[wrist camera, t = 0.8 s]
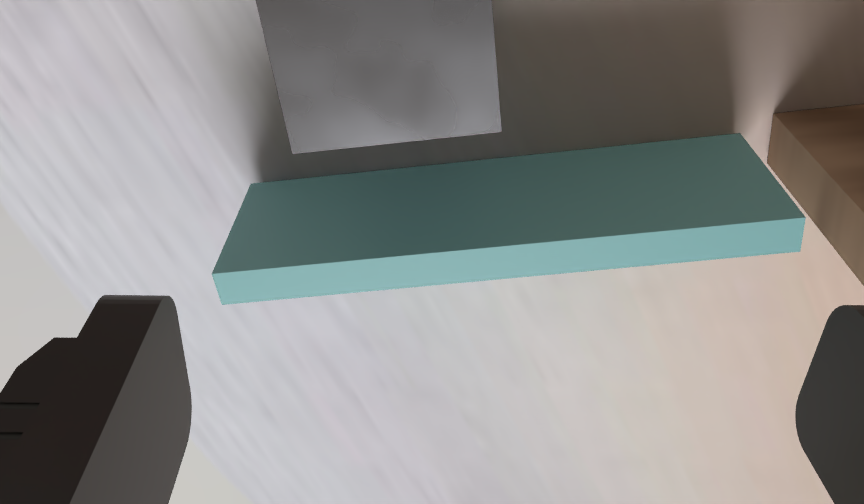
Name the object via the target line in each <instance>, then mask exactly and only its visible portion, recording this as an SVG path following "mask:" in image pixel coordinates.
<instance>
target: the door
mask: <svg viewBox="0 0 864 504" xmlns="http://www.w3.org/2000/svg"><path fill="white" fill-rule="evenodd" d="M805 218H806V217H805V216H804V215H803V213H802V212H801V211H800V210H799V208H798V207H797V206H796V204H795V203H794V202H793V201H792V199H791V198H790V197H789V195H788V194H787V193H786V192H785V190H784V189H783V188H782V186H781V185H780V184H779V183H778V181H777V180H776V179H775V177H774V176H773V175H772V174H771V172H770V171H769V170H768V168H767V167H766V166H765V165H764V163H763V162H762V161H761V159H760V158H759V157H758V156H757V154H756V153H755V152H754V150H753V149H752V148H751V147H750V145H749V144H748V143H747V141H746V140H745V139H744V138H743V136H742V135H741V134H740V133H737V134H727V135H718V136H708V137H698V138H689V139H679V140H669V141H660V142H650V143H640V144H631V145H621V146H611V147H602V148H592V149H582V150H573V151H563V152H553V153H543V154H534V155H524V156H514V157H505V158H495V159H485V160H476V161H466V162H456V163H447V164H437V165H427V166H418V167H408V168H398V169H389V170H379V171H369V172H360V173H350V174H340V175H330V176H321V177H311V178H301V179H292V180H282V181H272V182H263V183H253V184H251V185H250V187H249V189H248V192H247V194H246V196H245V199H244V201H243V203H242V206H241V208H240V210H239V213H238V215H237V217H236V219H235V222H234V224H233V226H232V229H231V231H230V233H229V236H228V238H227V240H226V242H225V245H224V247H223V249H222V252H221V254H220V256H219V259H218V261H217V263H216V266H215V268H214V270H213V272H212V276H213V279H214V282H215V285H216V288H217V291H218V294H219V297H220V300H221V303H222V305H225V304H236V303H247V302H258V301H269V300H279V299H290V298H301V297H312V296H323V295H334V294H345V293H355V292H366V291H377V290H388V289H399V288H410V287H420V286H431V285H442V284H453V283H464V282H475V281H486V280H496V279H507V278H518V277H529V276H540V275H551V274H561V273H572V272H583V271H594V270H605V269H616V268H627V267H637V266H648V265H659V264H670V263H681V262H692V261H702V260H713V259H724V258H735V257H746V256H757V255H768V254H778V253H789V252H800V249H801V243H802V237H803V231H804V224H805Z"/></svg>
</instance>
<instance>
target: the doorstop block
mask: <svg viewBox="0 0 864 504" xmlns="http://www.w3.org/2000/svg"><path fill="white" fill-rule="evenodd" d="M256 3H257V7H258V12H259V16H260V20H261V24H262V28H263V33H264V37H265V41H266V45H267V49H268V54H269V58H270V62H271V66H272V71H273V75H274V79H275V83H276V87H277V92H278V96H279V100H280V104H281V108H282V113H283V117H284V121H285V125H286V130H287V134H288V138H289V142H290V146H291V151H292V154H298V153H307V152H317V151H326V150H336V149H345V148H355V147H364V146H373V145H383V144H392V143H402V142H411V141H421V140H430V139H440V138H449V137H459V136H468V135H478V134H487V133H497V132H502V129H501V116H500V103H499V90H498V77H497V64H496V50H495V37H494V24H493V11H492V0H256Z"/></svg>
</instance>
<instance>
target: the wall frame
mask: <svg viewBox="0 0 864 504" xmlns="http://www.w3.org/2000/svg"><path fill="white" fill-rule="evenodd" d="M767 163H768V165H769V166H770V167H771V169H772V170H773V171H774V172H775V174H776V175H777V176H778V177H779V179H780V180H781V181H782V183H783V184H784V185H785V186H786V188H787V189H788V190H789V191H790V193H791V194H792V195H793V197H794V198H795V199H796V200H797V202H798V203H799V204H800V205H801V207H802V208H803V209H804V210H805V212H806V213H807V214H808V216H809V217H810V218H811V219H812V221H813V222H814V223H815V224H816V226H817V227H818V228H819V230H820V231H821V232H822V233H823V235H824V236H825V237H826V238H827V240H828V241H829V242H830V244H831V245H832V246H833V247H834V249H835V250H836V251H837V252H838V254H839V255H840V256H841V258H842V259H843V260H844V261H845V263H846V264H847V265H848V266H849V268H850V269H851V270H852V272H853V273H854V274H855V275H856V277H857V278H858V279H859V280H860V282H861V283H862V284H863V286H864V104H859V105H850V106H840V107H831V108H821V109H811V110H802V111H792V112H783V113H773V121H772V129H771V137H770V145H769V153H768V161H767Z"/></svg>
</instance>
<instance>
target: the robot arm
mask: <svg viewBox="0 0 864 504" xmlns="http://www.w3.org/2000/svg"><path fill="white" fill-rule="evenodd" d="M191 410H192V405H191V392H190V386H189V380H188V374H187V368H186V362H185V356H184V351H183V345H182V339H181V333H180V327H179V321H178V316H177V310H176V306H175V303H174V301H173V299H172V298H171V297H170V296H141V295H104V296H102V297H101V298H100V299H99V300H98V302H97V303H96V305H95V307H94V309H93V310H92V312H91V314H90V316H89V317H88V319H87V321H86V323H85V325H84V326H83V328H82V330H81V331H80V333H79V335H78V337H77V338H53V339H52V340H51V341H49V342H48V343H47V344H46V345H44V346H43V347H42V348H41V349H39V350H38V351H37V352H35V353H34V354H33V355H32V356H30V357H29V358H28V359H27V360H25V361H24V362H23V363H22V364H20V365H19V366H18V367H17V368H16V369H15V371H14V372H13V374H12V376H11V377H10V379H9V381H8V382H7V383H6V385H5V387H4V388H3V390H2V391H1V393H0V504H168V503H169V500H170V496H171V493H172V490H173V487H174V484H175V481H176V477H177V474H178V471H179V468H180V465H181V462H182V459H183V456H184V452H185V449H186V446H187V442H188V438H189V433H190V425H191ZM796 428H797V433H798V437H799V441H800V443H801V446H802V448H803V450H804V452H805V454H806V455H807V457H808V459H809V460H810V462H811V464H812V466H813V467H814V469H815V471H816V473H817V474H818V476H819V478H820V479H821V481H822V483H823V485H824V486H825V488H826V490H827V492H828V493H829V495H830V497H831V499H832V500H833V502H834V504H864V305H843V306H839V307H838V308H836V309H835V310H834V311H833V312H832V313H831V315H830V316H829V318H828V320H827V322H826V325H825V328H824V330H823V333H822V336H821V338H820V341H819V343H818V346H817V349H816V351H815V354H814V357H813V359H812V362H811V365H810V367H809V370H808V372H807V375H806V378H805V380H804V383H803V386H802V388H801V391H800V394H799V396H798V400H797V404H796Z"/></svg>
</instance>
